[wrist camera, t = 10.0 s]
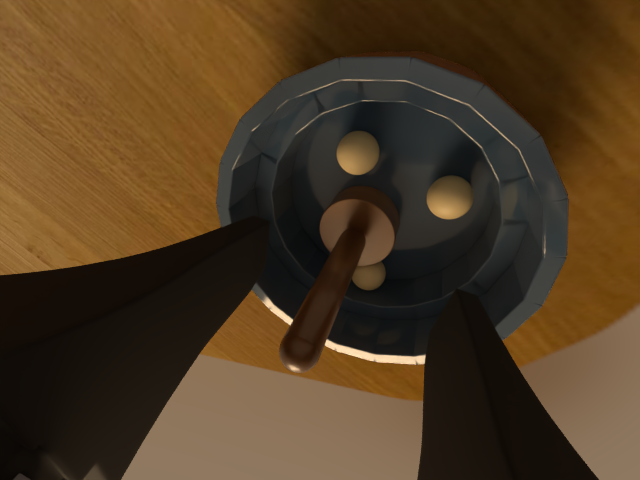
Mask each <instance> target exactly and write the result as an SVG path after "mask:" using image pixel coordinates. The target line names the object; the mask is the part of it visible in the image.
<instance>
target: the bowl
mask: <svg viewBox="0 0 640 480" xmlns="http://www.w3.org/2000/svg"><path fill="white" fill-rule="evenodd" d="M353 131H365V132H367V133H369V134H371V135H372V136H373V137H374V138H375V139H376V141H377V143H378V145H379V159H378V161H377V163H376V165H375V166H374V168H373V169H372V170H370V171H369V172H367V173H365V174H361V175H354V174H350V173H348V172H346V171H345V170H344V169H343V168H342V167H341V166H340V164H339V162H338V160H337V147H338V144H339V142H340V141H341V139H342V138H343V137H344V136H345V135H347V134H348V133H350V132H353ZM450 175H453V176H459V177H461V178H463V179H465V180H466V181H467V182H468V183H469V184H470V185H471V187H472V189H473V193H474V200H473V204H472V206H471V208H470V209H469V210H468V212H466V213H465V214H464V215H463V216H461V217H459V218H456V219H442V218H439V217H437V216H436V215H434V214H433V213H432V212H431V211H430V209H429V207H428V205H427V193H428V190H429V188H430V186H431V185H432V184H433V183H434V182H435V181H436V180H438V179H439V178H441V177H444V176H450ZM353 186H369V187H373V188H375V189H378V190H380V191H382V192H383V193H384V194H386V195H387V196H388V197H389V198H390V199H391V200H392V201H393V203H394V204H395V206H396V208H397V210H398V213H399V228H398V232H397V235H396V239H395V243H394V246H393V248H392V251H391V252H390V253H389V255H388V256H387V257H386V258H384V259H383V260H382V261H381V262H382V263H383V265H384V267H385V270H386V276H385V280H384V282H383V283H382V285H381V286H380V287H378V288H376V289H374V290H363V289H361V288H359V287H358V286H357V285H356V284H355V283H354V282H353V280H352V279H351V281H350V284H349V286H348V289H347V291H346V294H345V296H344V299H343V301H342V304H341V306H340V308H339V311H338V313H337V316H336V318H335V321H334V323H333V326H332V328H331V330H330V333H329V335H328V338H327V340H326V343H325V346H327V347H329V348H331V349H333V350H336V351H337V352H341V353H344V354H348V355H352V356H355V357H359V358H363V359H366V360H370V361H373V362H375V361H376V362H383V363H398V364H413V365H418V364H425V356H426V350H427V344H428V338H429V333H430V330H431V328H432V327H433V325H434V323H435V322H436V320H437V319H438V317H439V315H440V314H441V312H442V311H443V309H444V307H445V306H446V304H447V302H448V301H449V299H450V298H451V296H452V294H453V293H454V291H455V289H456V288H457V289H460V290H463V291H466V292H469V293H471V294H474V295H477V296H478V298H479V300H480V301H481V303H482V305H483V307H484V309H485V310H486V312H487V314H488V316H489V318H490V320H491V321H492V323H493V325H494V327H495V329H496V331H497V332H498V334H499V336H500V338H501V340H504V339H505V338H507V337H508V336H510V335H511V334H512V333H513V332H514V331H515V330H516V329H517V328H519V327H520V326H521V325H522V324H523V323H524V322H525V321H526V320H527V319H529V318H530V317H531V316H532V315H533V314H534V313H535V312H536V311H538V310H539V309H540V308H541V307H542V305H543V304H544V302H545V300H546V298H547V296H548V294H549V292H550V290H551V288H552V286H553V284H554V282H555V280H556V278H557V276H558V274H559V272H560V270H561V268H562V266H563V264H564V262H565V260H566V256H567V245H568V210H569V199H568V194H567V192H566V189H565V187H564V185H563V182H562V180H561V178H560V176H559V173H558V171H557V169H556V167H555V164H554V162H553V160H552V158H551V155H550V153H549V151H548V148H547V146H546V144H545V142H544V139H543V137H542V136H541V135H540V134H539V132H538V131H537V130H536V129H535V128H534V127H533V126H532V125H531V124H530V123H529V122H528V121H527V120H526V119H525V117H524V116H522V114H521V113H520V112H519V111H518V110H517V109H516V108H515V107H514V106H513V105H512V104H511V103H510V102H509V101H507V100H506V99H505V98H504V97H503V96H502V95H501V94H500V93H499V92H498V91H497V90H495V89H494V88H493V87H492V86H491V85H490V84H489V83H488V82H487V81H486V80H484V79H483V78H482V77H481V76H480V75H479V74H478V73H477V72H475V71H473V70H472V69H470V68H467V67H464V66H462V65H459V64H456V63H454V62H451V61H448V60H445V59H443V58H440V57H437V56H435V55H432V54H429V53H427V52H422V51H406V52H368V53H362V54H356V55H350V56H343V57H337V58H335V59H332V60H330V61H327V62H325V63H322V64H320V65H317V66H315V67H312V68H310V69H307V70H305V71H302V72H300V73H297V74H295V75H292V76H290V77H287V78H285V79H282V80H281V81H280V82H278V83H277V84H275V85H274V86H273V87H272V88H271V89H270V90H269V91H268V92H267V93H266V94H265V95H264V96H263V97H262V98H261V99H260V100H259V101H258V102H257V103H256V104H254V105H253V106H252V107H251V108H250V109H249V110H248V111H247V112H246V113H245V114H244V115H243V116H242V117H241V119H240V120H239V122H238V124H237V126H236V128H235V130H234V132H233V135H232V137H231V139H230V141H229V143H228V145H227V147H226V150H225V152H224V154H223V156H222V158H221V162H220V166H219V177H218V189H217V200H216V204H217V211H218V215H219V220H220V224H221V227H224V226H226V225H229V224H232V223H234V222H237V221H239V220H242V219H245V218H248V217H251V216H257V217H260V218H262V219H265V220H268V221H270V227H269V237H268V247H267V257H266V267H265V269H264V271H263V272H262V274H261V275H260V277H259V279H258V280H257V282H256V283H255V285H254V287H253V288H252V290H253V292H254V293H255V294H256V295H257V296H258V297H259V299H260V300H261V301H262V302H263V303H264V304H265V306H266V307H267V308H269V310H270V311H272V312H273V313H274V314H276V315H277V316H278V317H279V318H281V319H282V320H283V321H285V322H286V323H287V324H289V325H291V323H292V321H293V320H294V318H295V316H296V314H297V312H298V311H299V309H300V307H301V305H302V303H303V302H304V300H305V298H306V296H307V295H308V293H309V291H310V289H311V287H312V286H313V284H314V282H315V280H316V278H317V277H318V275H319V273H320V271H321V269H322V268H323V266H324V264H325V262H326V260H327V259H328V257H329V255H330V252H329V250H328V249H327V248H326V247H325V245H324V243H323V241H322V239H321V235H320V220H321V217H322V215H323V213H324V212H325V210H326V209H327V207H328V206H329V205H330V203H331V202H332V201H333V199H334V198H335V197H336V196H337V194H339V193H340V192H341V191H343V190H344V189H347V188H349V187H353Z"/></svg>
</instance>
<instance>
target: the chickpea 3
mask: <svg viewBox="0 0 640 480" xmlns="http://www.w3.org/2000/svg"><path fill="white" fill-rule="evenodd" d="M473 200H474V193H473V189H472V187H471V185H470V184H469V183H468V182H467V181H466V180H465V179H463V178H461V177H459V176H453V175H450V176H444V177H441V178H439V179H438V180H436V181H435V182H434V183H433V184H432V185H431V186H430V188H429V190H428V193H427V205H428V207H429V209H430V211H431V212H432V213H433V214H434V215H436V216H437V217H439V218H442V219H456V218H459V217H461V216H463V215H464V214H465V213H466V212H468V210H469V209H470V208H471V206H472V204H473Z"/></svg>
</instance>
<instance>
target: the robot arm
mask: <svg viewBox="0 0 640 480" xmlns="http://www.w3.org/2000/svg"><path fill="white" fill-rule="evenodd" d="M269 227H270V221H268V220H265V219H262V218H260V217H257V216H251V217H248V218H245V219H242V220H239V221H237V222H234V223H232V224H229V225H226V226H224V227H221V228H219V229H216V230H213V231H211V232H208V233H205V234H203V235H200V236H197V237H194V238H191V239H188V240H185V241H182V242H179V243H176V244H173V245H170V246H167V247H163V248H160V249H156V250H153V251H149V252H145V253H141V254H137V255H133V256H129V257H124V258H120V259H115V260H109V261H104V262H99V263H93V264H88V265H82V266H77V267H70V268H63V269H56V270H48V271H39V272H31V273H22V274H11V275H0V480H121V479H122V477H123V475H124V473H125V472H126V470H127V468H128V467H129V465H130V463H131V461H132V460H133V458H134V456H135V454H136V453H137V451H138V449H139V447H140V446H141V444H142V442H143V441H144V439H145V437H146V436H147V434H148V433H149V431H150V429H151V428H152V426H153V424H154V423H155V421H156V420H157V418H158V416H159V415H160V413H161V411H162V410H163V408H164V407H165V405H166V403H167V402H168V400H169V399H170V397H171V396H172V394H173V392H174V391H175V390H176V388H177V386H178V385H179V383H180V382H181V380H182V379H183V377H184V376H185V374H186V373H187V371H188V370H189V368H190V367H191V366H192V364H193V363H194V361H195V360H196V358H197V357H198V355H199V354H200V352H201V351H202V350H203V348H204V347H205V346H206V344H207V343H208V342H209V340H210V339H211V338H212V337H213V336H214V334H215V333H216V332H217V331H218V330H219V328H220V327H221V326H222V325H223V324H224V322H225V321H226V320H227V319H228V318H229V316H230V315H231V314H232V313H233V312H234V310H235V309H236V308H237V307H238V306H239V304H240V303H241V302H242V301H243V300H244V298H245V297H246V296H247V295H248V293H249V292H250V291H251V290H252V288H253V287H254V285H255V283H256V282H257V280H258V279H259V277H260V275H261V274H262V272H263V271H264V269H265V267H266V257H267V247H268V237H269ZM422 431H423V432H422V447H421V456H420V464H419V472H418V479H417V480H599V479H598V478H597V477H596V475H595V474H594V473H593V472H592V471H591V469H590V468H589V467H588V466H587V464H586V463H585V462H584V461H583V459H582V458H581V457H580V456H579V454H578V453H577V452H576V451H575V449H574V448H573V447H572V445H571V444H570V443H569V441H568V440H567V438H566V437H565V436H564V434H563V433H562V432H561V430H560V429H559V428H558V426H557V425H556V424H555V422H554V421H553V420H552V419H551V417H550V415H549V414H548V413H547V411H546V410H545V408H544V407H543V405H542V404H541V403H540V401H539V400H538V398H537V397H536V395H535V393H534V392H533V390H532V389H531V387H530V386H529V384H528V383H527V381H526V380H525V378H524V377H523V375H522V374H521V372H520V370H519V368H518V367H517V365H516V364H515V362H514V360H513V359H512V357H511V355H510V353H509V352H508V350H507V348H506V347H505V345H504V343H503V341H502V340H501V338H500V336H499V334H498V332H497V331H496V329H495V327H494V325H493V323H492V321H491V320H490V318H489V316H488V314H487V312H486V310H485V309H484V307H483V305H482V303H481V301H480V300H479V298H478V296H477V295H474V294H471V293H469V292H466V291H463V290H460V289H457V288H456V289H455V291H454V293H453V294H452V296H451V298H450V299H449V301H448V302H447V304H446V306H445V307H444V309H443V311H442V312H441V314H440V315H439V317H438V319H437V320H436V322H435V323H434V325H433V327H432V328H431V330H430V333H429V338H428V344H427V350H426V356H425V368H424V396H423V430H422Z"/></svg>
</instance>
